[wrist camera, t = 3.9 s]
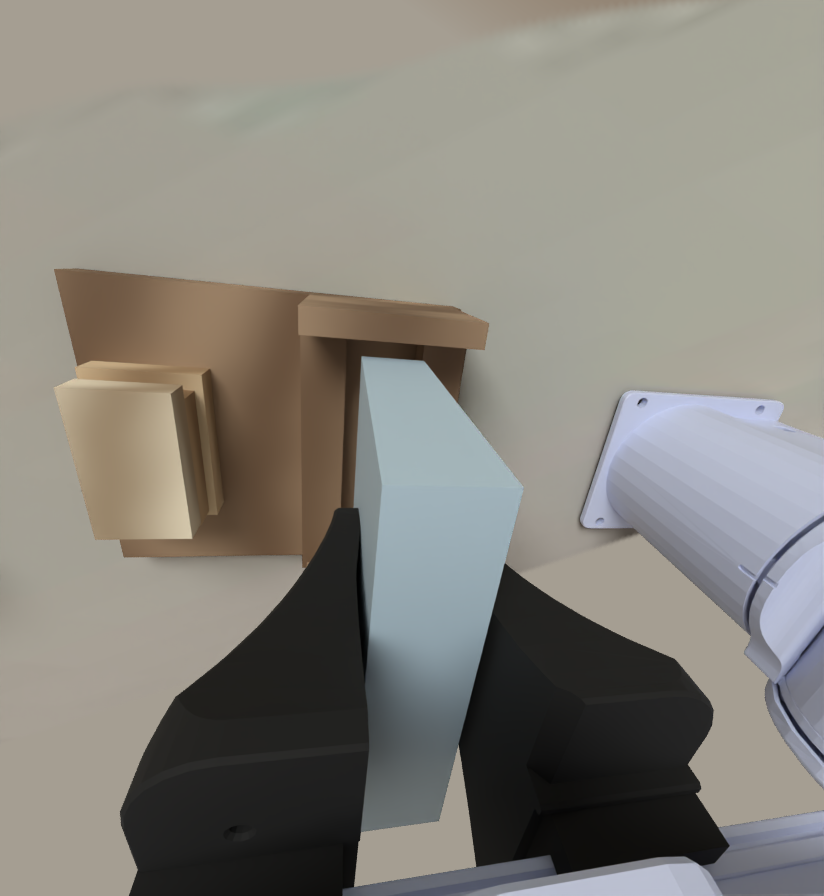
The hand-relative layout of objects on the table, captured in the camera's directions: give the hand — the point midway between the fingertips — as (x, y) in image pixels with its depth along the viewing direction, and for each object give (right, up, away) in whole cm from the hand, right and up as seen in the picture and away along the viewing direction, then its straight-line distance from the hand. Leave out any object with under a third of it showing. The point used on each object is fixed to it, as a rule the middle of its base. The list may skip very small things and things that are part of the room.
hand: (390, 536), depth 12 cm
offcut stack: (-9, +3, +4) cm, 11 cm away
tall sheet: (0, +1, +3) cm, 3 cm away
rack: (-5, +3, +6) cm, 9 cm away
